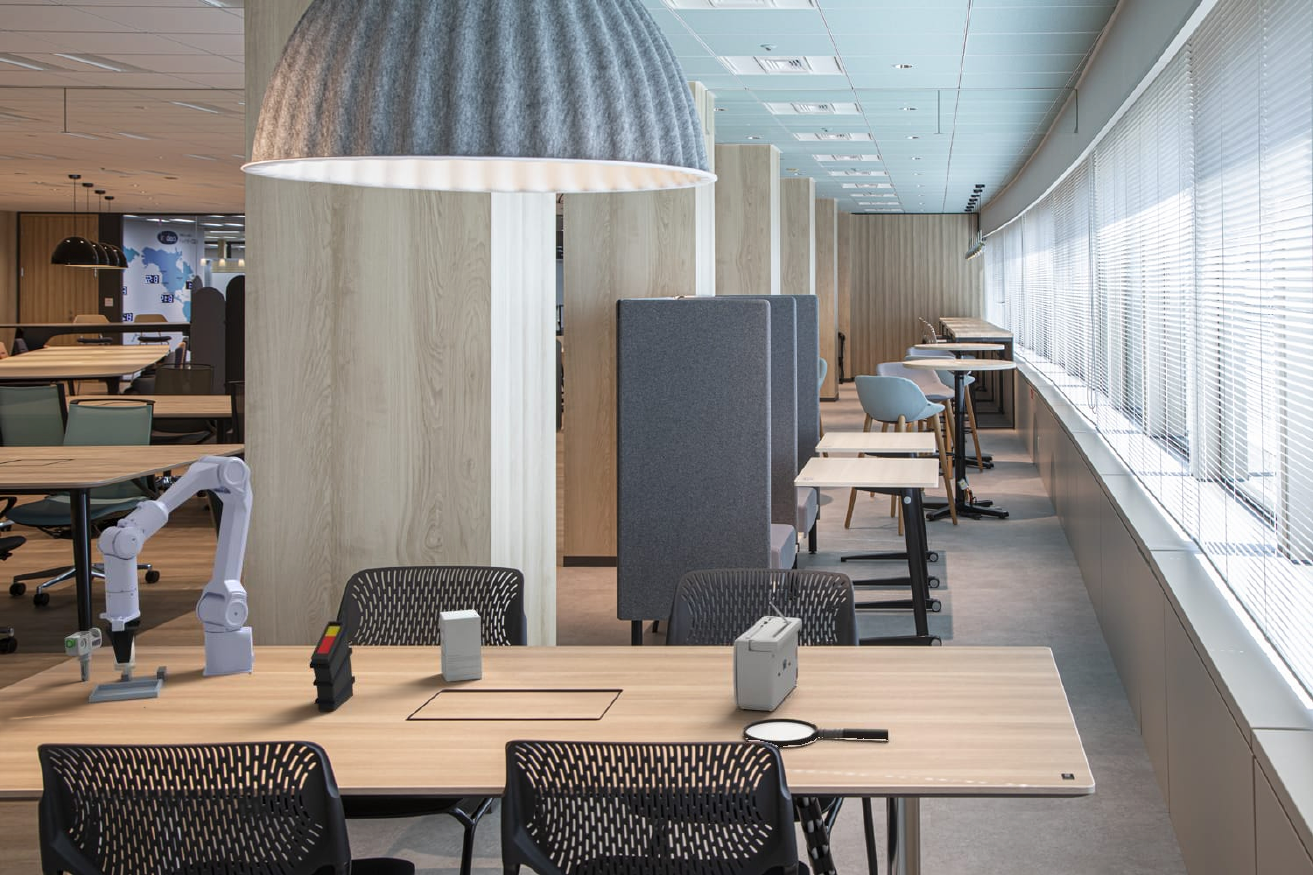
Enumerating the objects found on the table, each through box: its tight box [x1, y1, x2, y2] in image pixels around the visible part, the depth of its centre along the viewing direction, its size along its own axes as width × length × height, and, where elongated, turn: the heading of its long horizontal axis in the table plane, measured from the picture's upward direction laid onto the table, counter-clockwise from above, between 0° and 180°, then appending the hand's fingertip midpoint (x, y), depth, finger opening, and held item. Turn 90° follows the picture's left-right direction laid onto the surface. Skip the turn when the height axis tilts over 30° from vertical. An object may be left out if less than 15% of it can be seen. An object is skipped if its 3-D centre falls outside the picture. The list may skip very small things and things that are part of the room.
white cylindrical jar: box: [113, 638, 136, 672], centre depth 244 cm, size 4×4×6 cm
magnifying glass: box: [742, 718, 889, 749], centre depth 214 cm, size 12×24×2 cm, turn 80°
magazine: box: [309, 620, 356, 712], centre depth 237 cm, size 4×13×15 cm, turn 174°
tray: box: [88, 679, 164, 704], centre depth 245 cm, size 12×9×2 cm
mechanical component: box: [64, 627, 103, 682], centre depth 255 cm, size 3×10×10 cm, turn 174°
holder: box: [120, 665, 169, 683], centre depth 255 cm, size 8×5×2 cm, turn 105°
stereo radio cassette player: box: [732, 601, 803, 712], centre depth 237 cm, size 21×8×20 cm, turn 160°
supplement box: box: [439, 609, 483, 683], centre depth 255 cm, size 7×7×13 cm
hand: (125, 660), depth 244 cm, fingers closed on white cylindrical jar, 4 cm apart
